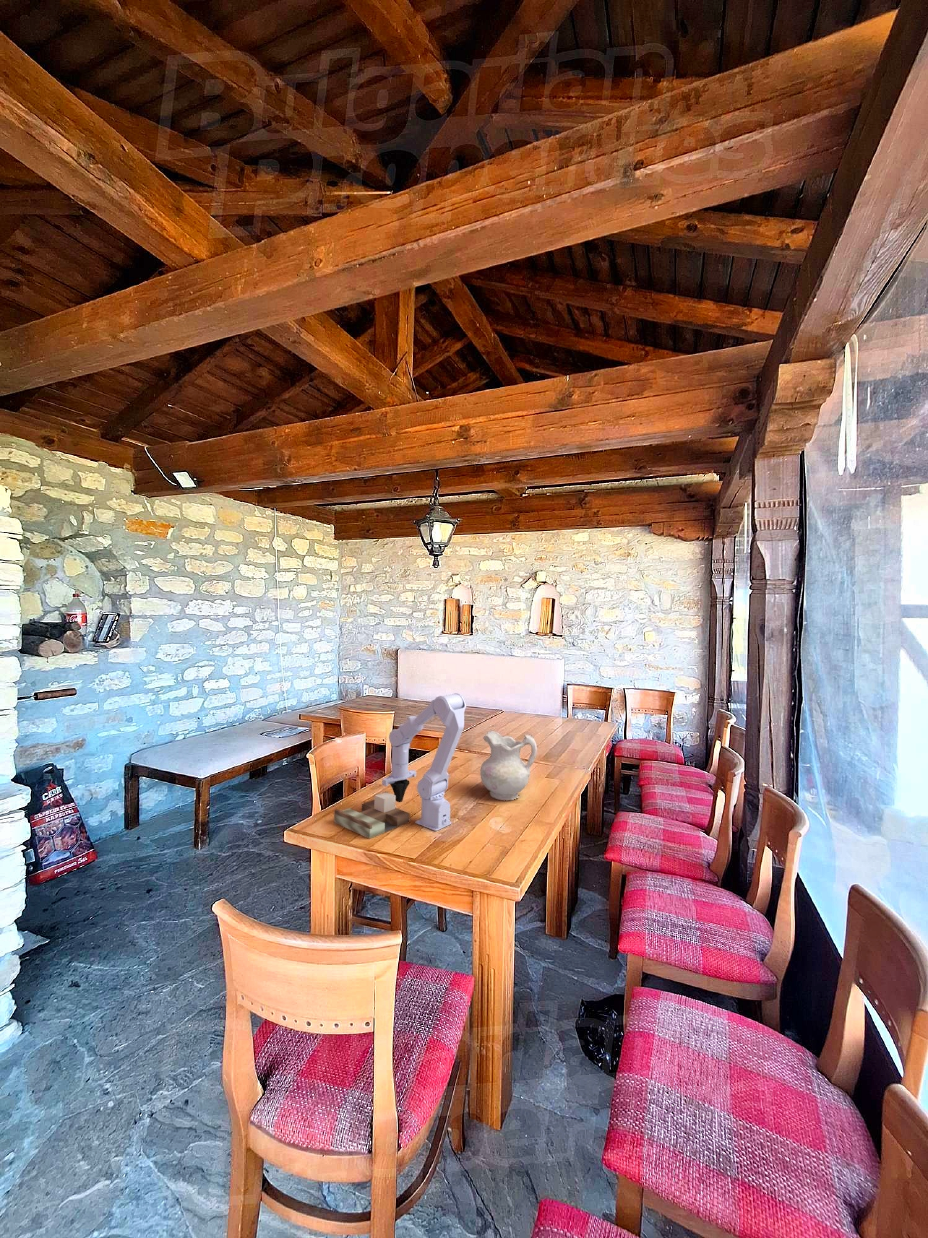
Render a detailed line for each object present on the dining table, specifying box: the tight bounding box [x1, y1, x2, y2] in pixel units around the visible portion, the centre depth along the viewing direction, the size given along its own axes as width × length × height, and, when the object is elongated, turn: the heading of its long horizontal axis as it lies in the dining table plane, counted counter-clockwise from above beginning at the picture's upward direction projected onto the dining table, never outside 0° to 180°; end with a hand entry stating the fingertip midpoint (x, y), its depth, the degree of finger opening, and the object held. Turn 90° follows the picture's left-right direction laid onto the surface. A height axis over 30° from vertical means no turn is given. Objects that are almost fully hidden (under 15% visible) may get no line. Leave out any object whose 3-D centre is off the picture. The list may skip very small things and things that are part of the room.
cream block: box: [374, 791, 396, 813], centre depth 166 cm, size 5×5×4 cm
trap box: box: [333, 799, 411, 840], centre depth 162 cm, size 18×17×4 cm
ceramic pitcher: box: [479, 730, 538, 802], centre depth 191 cm, size 22×20×25 cm
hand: (399, 801), depth 171 cm, fingers closed
